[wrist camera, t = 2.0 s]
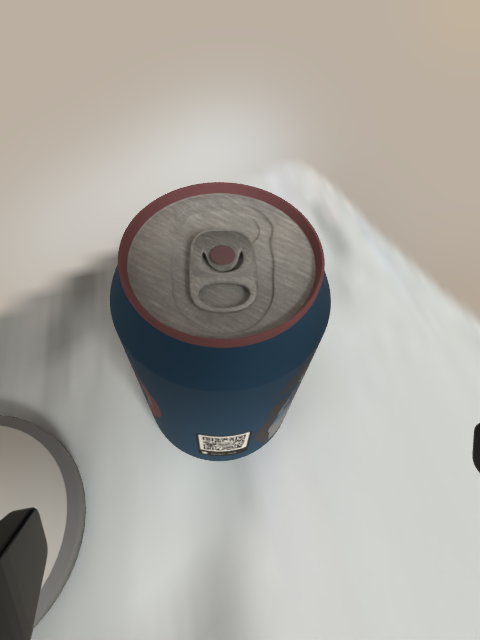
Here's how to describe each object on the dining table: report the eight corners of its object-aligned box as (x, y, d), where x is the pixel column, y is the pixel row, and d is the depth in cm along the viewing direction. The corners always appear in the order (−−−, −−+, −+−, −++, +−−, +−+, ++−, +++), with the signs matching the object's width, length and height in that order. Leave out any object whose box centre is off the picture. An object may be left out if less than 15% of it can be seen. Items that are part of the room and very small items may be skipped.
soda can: (158, 343, 23) (109, 167, 12) (277, 340, 23) (325, 168, 13) (150, 469, 19) (74, 369, 9) (291, 463, 20) (372, 361, 9)
